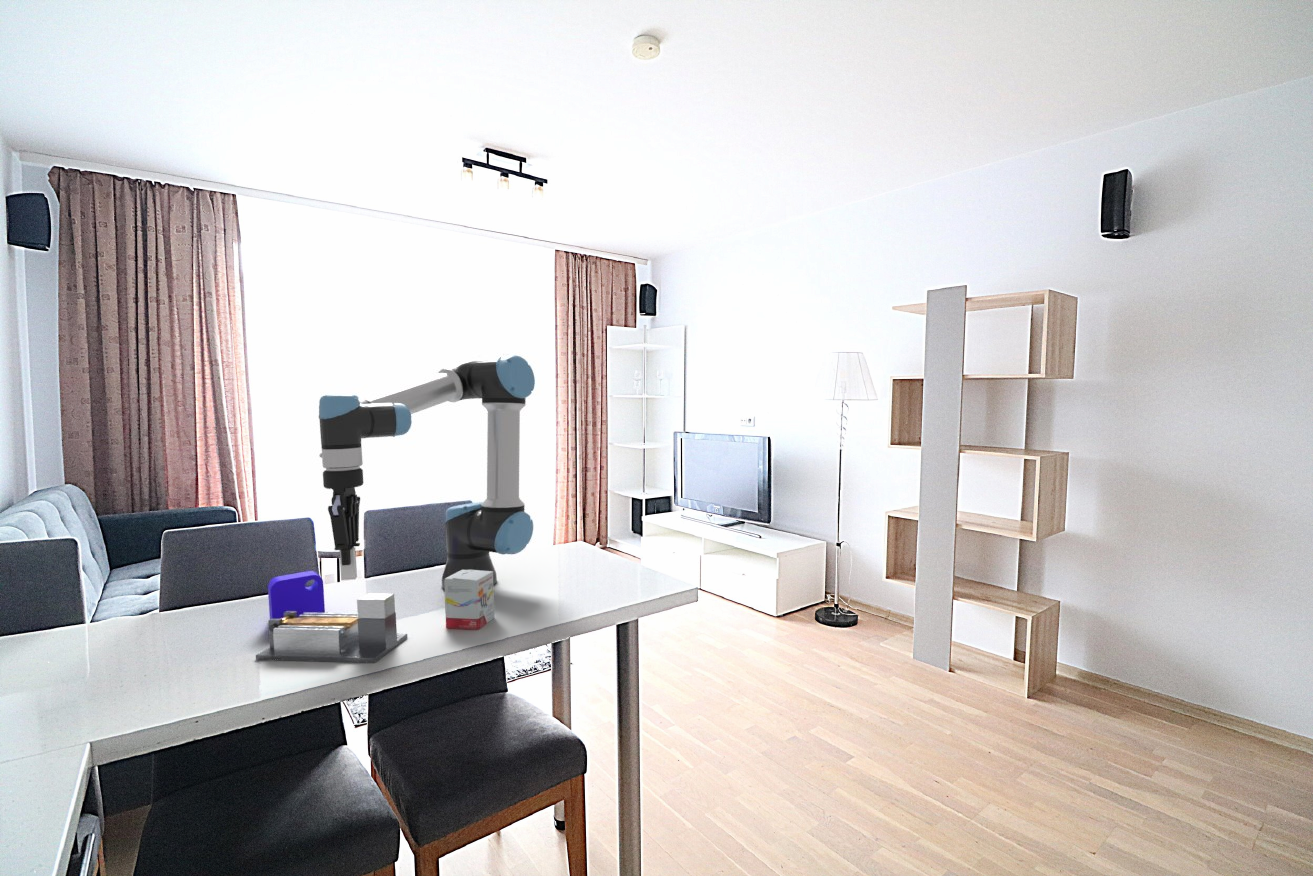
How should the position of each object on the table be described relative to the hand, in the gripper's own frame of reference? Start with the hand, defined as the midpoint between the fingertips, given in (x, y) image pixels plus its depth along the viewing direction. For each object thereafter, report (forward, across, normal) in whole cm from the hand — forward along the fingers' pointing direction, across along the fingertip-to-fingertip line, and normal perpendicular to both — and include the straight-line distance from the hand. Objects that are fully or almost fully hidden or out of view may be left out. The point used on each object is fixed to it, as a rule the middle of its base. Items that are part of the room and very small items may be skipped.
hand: (349, 578), depth 131 cm
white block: (+8, +2, +6) cm, 10 cm away
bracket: (+16, -25, -22) cm, 37 cm away
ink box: (+16, -11, +23) cm, 30 cm away
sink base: (+15, -1, -5) cm, 16 cm away
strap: (+11, -2, -8) cm, 13 cm away
